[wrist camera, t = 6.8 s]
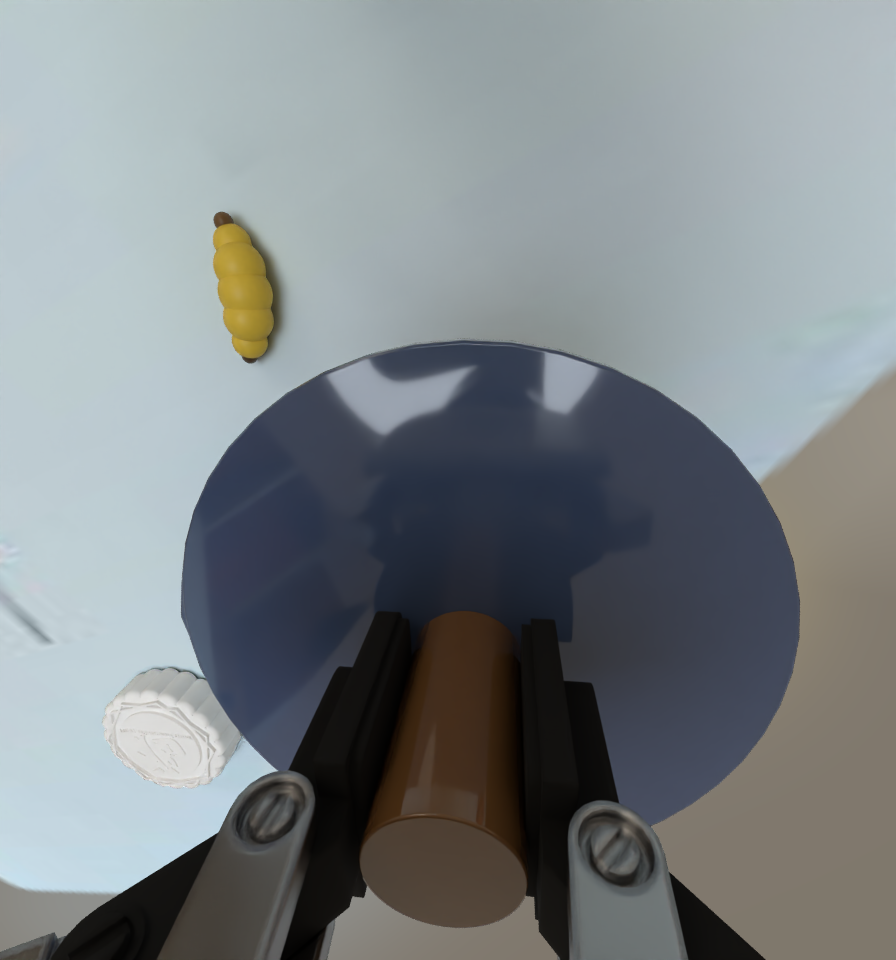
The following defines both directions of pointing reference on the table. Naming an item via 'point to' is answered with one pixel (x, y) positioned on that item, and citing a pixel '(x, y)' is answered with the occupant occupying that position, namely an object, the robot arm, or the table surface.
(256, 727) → the lid
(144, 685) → the mooncake
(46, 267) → the table surface
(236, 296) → the yellow segmented pod
